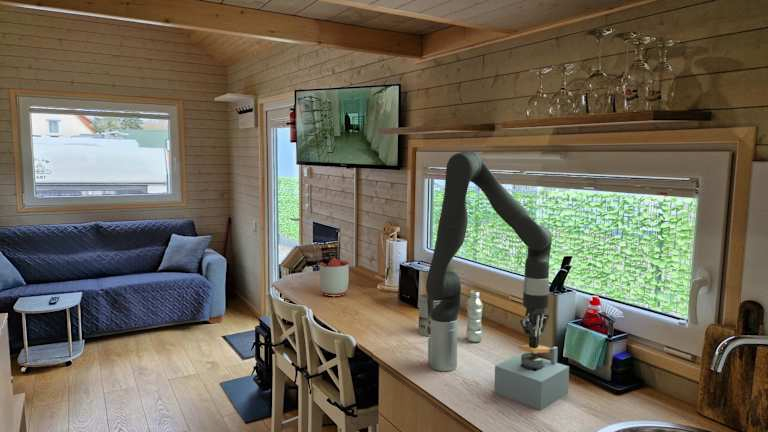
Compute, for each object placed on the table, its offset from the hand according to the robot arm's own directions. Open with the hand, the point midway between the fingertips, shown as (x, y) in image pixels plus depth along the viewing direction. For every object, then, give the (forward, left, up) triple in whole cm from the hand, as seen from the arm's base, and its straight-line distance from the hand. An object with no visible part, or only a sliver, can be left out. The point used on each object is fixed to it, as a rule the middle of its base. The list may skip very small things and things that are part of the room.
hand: (533, 347), depth 162 cm
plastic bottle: (-40, +24, -15) cm, 49 cm away
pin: (0, 0, -14) cm, 14 cm away
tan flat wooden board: (0, +2, -2) cm, 2 cm away
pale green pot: (-134, +27, -15) cm, 138 cm away
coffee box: (-58, +19, -15) cm, 63 cm away
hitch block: (0, 0, -15) cm, 15 cm away
